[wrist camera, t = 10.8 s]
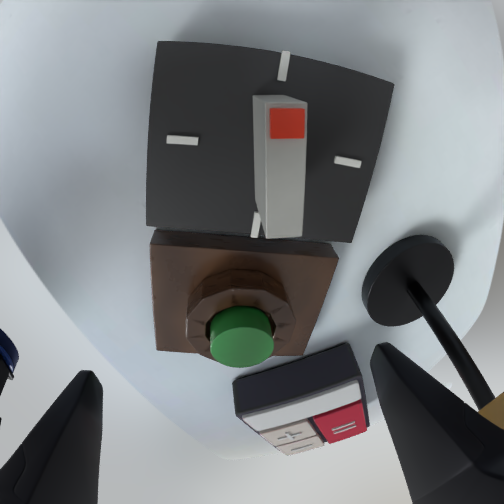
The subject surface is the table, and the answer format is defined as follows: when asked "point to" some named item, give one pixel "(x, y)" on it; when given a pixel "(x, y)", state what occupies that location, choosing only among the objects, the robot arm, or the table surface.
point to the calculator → (305, 401)
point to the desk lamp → (425, 306)
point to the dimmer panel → (242, 137)
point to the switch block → (236, 286)
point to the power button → (241, 337)
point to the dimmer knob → (280, 163)
